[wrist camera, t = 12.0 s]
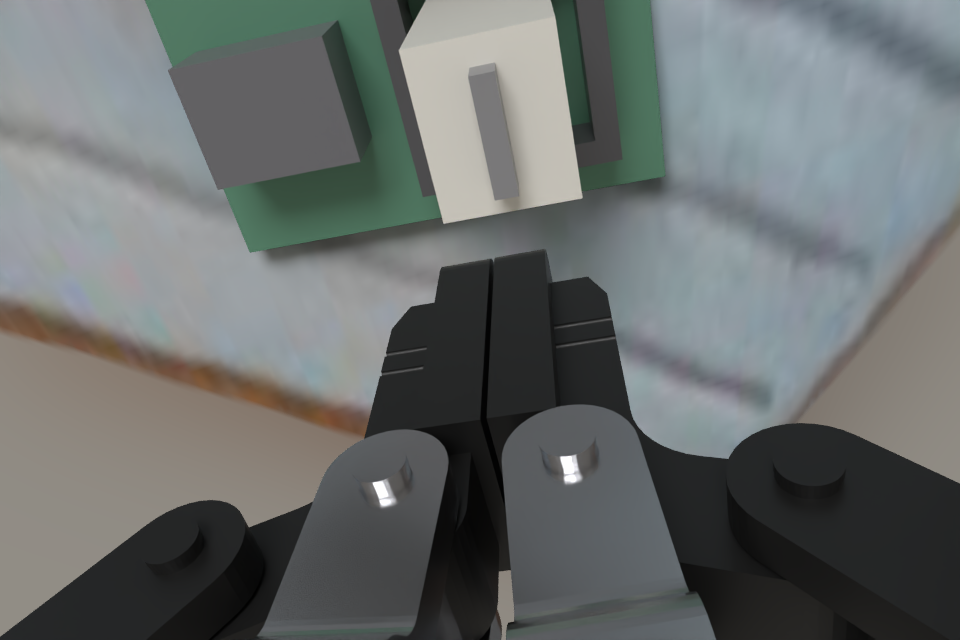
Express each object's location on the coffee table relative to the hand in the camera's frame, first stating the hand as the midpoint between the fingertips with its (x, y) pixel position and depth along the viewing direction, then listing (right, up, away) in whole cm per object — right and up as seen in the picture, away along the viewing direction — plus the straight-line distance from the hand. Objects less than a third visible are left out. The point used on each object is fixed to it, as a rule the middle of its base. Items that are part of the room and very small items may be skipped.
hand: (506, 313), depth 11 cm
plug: (0, +9, +14) cm, 16 cm away
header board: (-3, +9, +15) cm, 18 cm away
